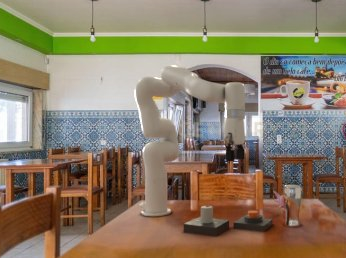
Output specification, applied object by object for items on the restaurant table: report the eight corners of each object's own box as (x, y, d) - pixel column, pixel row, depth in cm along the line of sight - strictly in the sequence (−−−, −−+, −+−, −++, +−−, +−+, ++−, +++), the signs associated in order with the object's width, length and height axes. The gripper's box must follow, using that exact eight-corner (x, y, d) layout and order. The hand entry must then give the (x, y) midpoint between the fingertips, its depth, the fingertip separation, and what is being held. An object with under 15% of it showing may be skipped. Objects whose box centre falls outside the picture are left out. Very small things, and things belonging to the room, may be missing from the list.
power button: (246, 217, 133) (246, 212, 133) (250, 215, 137) (250, 210, 137) (256, 218, 132) (256, 213, 132) (260, 216, 135) (260, 211, 135)
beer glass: (301, 227, 132) (300, 187, 132) (282, 226, 134) (282, 187, 134) (301, 222, 139) (301, 184, 139) (283, 222, 141) (283, 184, 141)
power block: (233, 228, 132) (233, 217, 132) (243, 221, 141) (243, 211, 141) (263, 231, 127) (263, 220, 127) (272, 224, 136) (272, 214, 136)
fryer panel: (183, 232, 127) (183, 223, 127) (199, 224, 137) (199, 216, 137) (215, 236, 122) (215, 227, 122) (229, 228, 132) (229, 219, 132)
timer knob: (209, 223, 127) (209, 207, 127) (198, 222, 129) (198, 206, 129) (214, 221, 131) (214, 205, 131) (204, 219, 133) (204, 204, 133)
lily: (295, 221, 146) (302, 199, 149) (268, 210, 146) (276, 188, 149) (287, 222, 157) (294, 202, 161) (263, 212, 157) (270, 192, 160)
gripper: (235, 116, 144) (235, 158, 144) (216, 114, 128) (216, 161, 128) (252, 115, 141) (252, 158, 141) (235, 114, 125) (235, 162, 125)
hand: (235, 160), depth 135 cm, fingers open, 9 cm apart
